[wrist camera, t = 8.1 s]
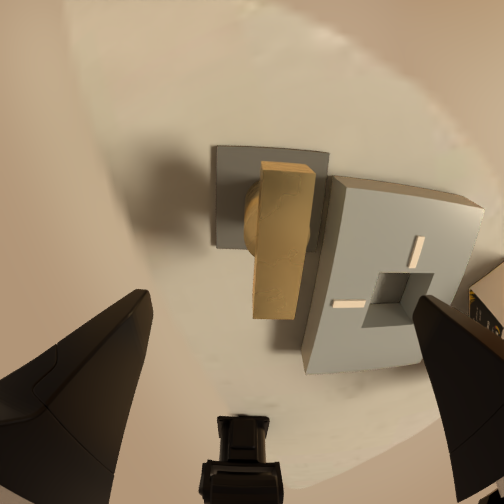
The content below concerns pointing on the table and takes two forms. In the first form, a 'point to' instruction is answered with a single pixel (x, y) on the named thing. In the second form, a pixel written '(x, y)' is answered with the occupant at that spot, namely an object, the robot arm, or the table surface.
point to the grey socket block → (383, 271)
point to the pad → (247, 173)
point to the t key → (278, 235)
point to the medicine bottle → (489, 301)
